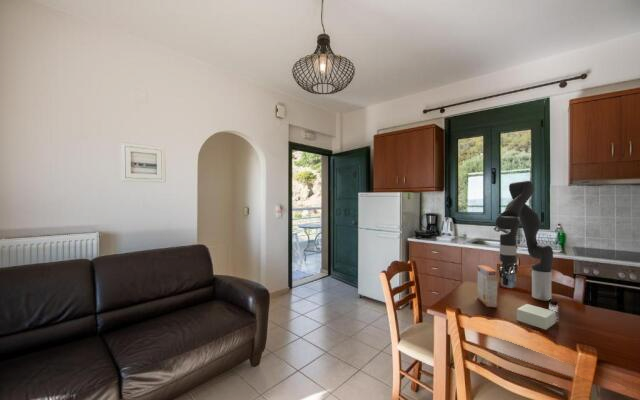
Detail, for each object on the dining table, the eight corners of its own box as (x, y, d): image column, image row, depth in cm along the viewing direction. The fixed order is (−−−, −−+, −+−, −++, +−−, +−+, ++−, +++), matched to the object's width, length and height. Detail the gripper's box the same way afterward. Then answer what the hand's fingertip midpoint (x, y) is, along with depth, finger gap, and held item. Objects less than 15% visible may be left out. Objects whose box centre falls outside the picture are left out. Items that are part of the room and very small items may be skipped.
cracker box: (498, 307, 153) (497, 271, 153) (486, 307, 154) (486, 271, 154) (487, 298, 167) (487, 265, 166) (477, 298, 168) (477, 264, 168)
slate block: (506, 283, 149) (506, 271, 149) (516, 286, 145) (516, 273, 144) (500, 285, 147) (500, 272, 147) (510, 288, 142) (510, 275, 142)
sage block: (526, 314, 144) (526, 303, 144) (555, 323, 134) (555, 311, 134) (516, 320, 138) (516, 309, 138) (546, 330, 128) (545, 317, 128)
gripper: (508, 250, 152) (508, 280, 152) (492, 253, 146) (493, 284, 146) (523, 252, 145) (523, 284, 145) (507, 256, 139) (508, 288, 139)
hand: (508, 284), depth 146 cm, fingers closed on slate block, 5 cm apart
